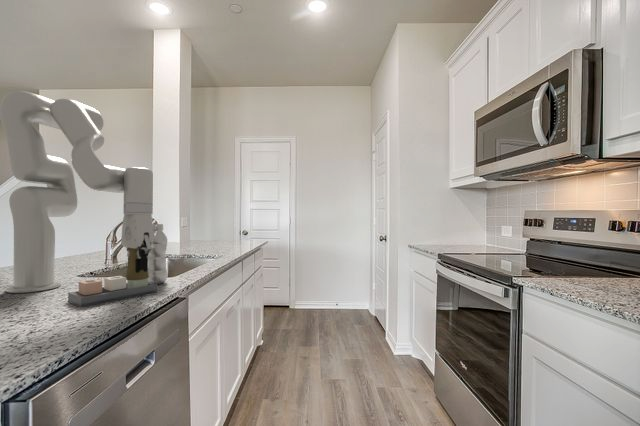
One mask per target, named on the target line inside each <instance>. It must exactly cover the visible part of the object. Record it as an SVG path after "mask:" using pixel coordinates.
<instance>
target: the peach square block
mask: <svg viewBox="0 0 640 426" xmlns="http://www.w3.org/2000/svg"><path fill="white" fill-rule="evenodd" d="M102 287H103V280H100V279H96V278H95V279H88V280H81V281H80V280H79V281H78V291H79V293H80V294H82V295H89V294H95V293H101V292H102Z"/></svg>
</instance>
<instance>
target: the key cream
mask: <svg viewBox="0 0 640 426" xmlns="http://www.w3.org/2000/svg"><path fill="white" fill-rule="evenodd" d="M126 283H127V280H126V276H122V275H116V276H109V277H104V286H103V287H104V289H107V290H109V291H113V290H118V289H124V288H126Z"/></svg>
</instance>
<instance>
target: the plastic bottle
mask: <svg viewBox="0 0 640 426" xmlns="http://www.w3.org/2000/svg"><path fill="white" fill-rule="evenodd" d="M152 226H153V243H152V246H151V247H152V250H151V251H150V252H149V254H148V255H149V257H148V274H149V278H148V282H149V283H153V284H157V285H161V284H163V283H166V281H167V278H168V271H167V265H166V264H167V263H166V254H167V246H168V238H167V235H166V234H165V232H164V231H163V230H164V224H162V223H161V224H160V223H156V224H155V223H152Z"/></svg>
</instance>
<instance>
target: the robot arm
mask: <svg viewBox="0 0 640 426" xmlns="http://www.w3.org/2000/svg"><path fill="white" fill-rule="evenodd" d="M0 123H1V126H2V128H3V131H4V134H5V137H6V142H7V151H8V156H9V162H10V168H11V172H12V175H13V177H14V178H15V179H16V180H18V181H21V182H25V183H31V184H39V185H46V186H38V185H37V186H35V185H33V186H31V185H28V186H22V187H18V188H17V189H15V190H14V191H12V193H11V194H10V195H9V200H8V201H9V209H10V213H11V216H12V223H13V225H12V226H13V266H12V267H13V271H12V272H13V273H12V275H13V276H12V278H13V280H12V282H13V283H12V284H10V285H8V286H7V287H5V291H6V293H11V294H22V293H24V294H25V293H34V292H41V291H48V290H53V289H56V288H59V287H60V286H61V285H62V284H61V283H62V282H61V281H60V280H55V276H56V275H55V274H56V273H55V272H56V271H55V269H56V268H55V267H56V256H55V255H56V229H55V227H54V225H53V223H52V221H51V219H50V218H60V217H61V218H63V217H64V218H65V217H69V216H70V215H72V214H74V213H75V211H76V210H77V208H78V194H77V189H76V181H75V175H74V171H73V169H74V170H75V173H77V175H78V176H79V178H80V180H81V182H83V183H84V184H85V185H86V186H87V187H88V188H89V189H91V190H93V191H98V192H106V193H107V192H109V193H116V194H117V193H118V194H123V217H122V218H123V220H122V225H121V237H120V238H121V239H120V240H121V243H120V245H121V246H122V247H123V248H126V252H127V255H126V256H127V262H128V261H129V254H130V252H129V251H128V247H129V248H133V249H136V248H137V259H136V265H135V271H136V273H139V272H140V271H141V270H143V271H144V272H147V271H148V257H149V255H148V254H149V252H150V251H151V250H152V247H151V246H152V243H153V226H152V224H153V220H152V219H153V217H152V215H153V214H154V213H153V212H154V211H153V209H154V208H153V207H154V206H153V205H154V204H153V203H154V199H153V198H154V172H153V170H151V169H150V168H147V167H137V166H132V167H129V166H128V167H127V168H121V167H117V166H111V165H106V164H103V163H102V162H101V160H100V159H99V158H98V156H97V155H96V153H95V151H98V150H100V149H101V148H102V146H104V143H105V138H104V135H103V134H102V132H101V131H102V130H103V128H104V124H105V123H104V118H103V116H102V114H101V113H100V112H99V111H98V110H96V108H93V107H91V106H89V105H86V104H83V103H81V102H79V101H77V100H74V99H69V98H59V99H55V100H53V99H51V98H48V97H45V96H42V95H39V94H36V93H34V92H30V91H27V90H21V89H20V90H17V89H16V90H12V91H9V92H8V93H6V94H5V95H4V96H3V97H2V100H1V101H0ZM34 123H36V124H38V125H39V124H40V125H43V126H46V127H49V128H53V129H57V130H61V131H62V134H63V135H64V136H65V137H66V139H67V140H68V142H69V144H70V145H71V146H72V150H71V153H70V156H71V165H72V166H71V165H70V163H69V162H68V161H66V159H63V158H61V157H58V156H54V155H53V156H52V155H48V153H47V150H46V147H45V140H44V138H43V136H42V134H41V133H40V131H39V130H38V129H37V127H36V126H35V125H34ZM143 245H144V246H145V247H143V248H140V247H139V246H143ZM140 250H142V251H141V253H140Z"/></svg>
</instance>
